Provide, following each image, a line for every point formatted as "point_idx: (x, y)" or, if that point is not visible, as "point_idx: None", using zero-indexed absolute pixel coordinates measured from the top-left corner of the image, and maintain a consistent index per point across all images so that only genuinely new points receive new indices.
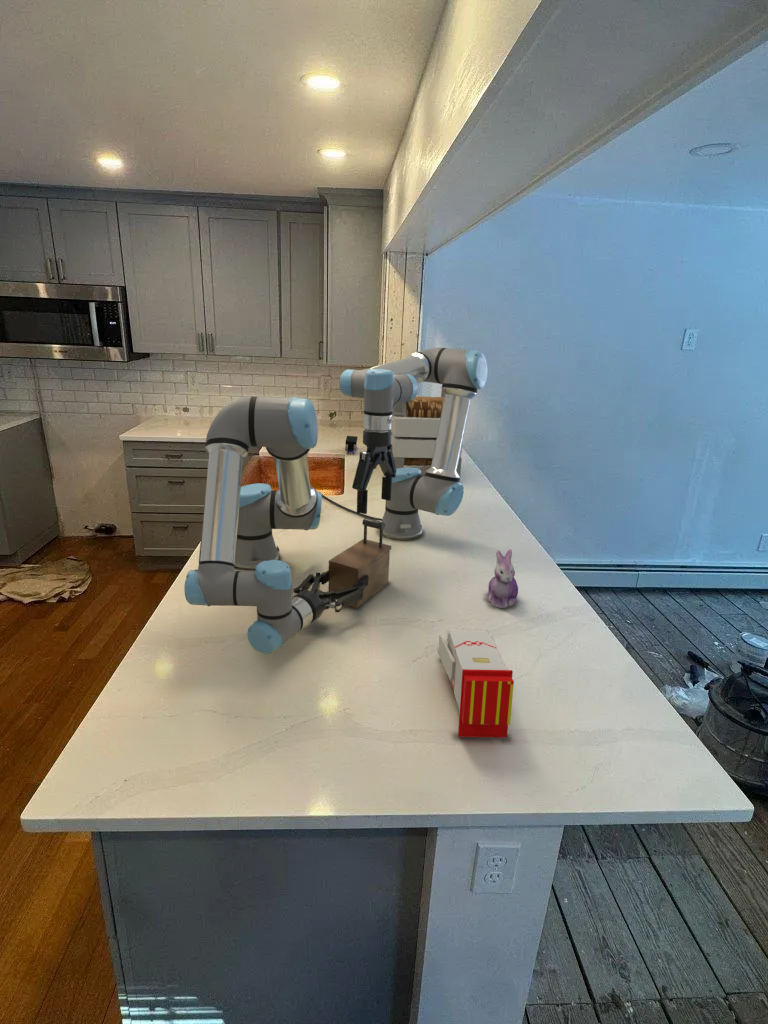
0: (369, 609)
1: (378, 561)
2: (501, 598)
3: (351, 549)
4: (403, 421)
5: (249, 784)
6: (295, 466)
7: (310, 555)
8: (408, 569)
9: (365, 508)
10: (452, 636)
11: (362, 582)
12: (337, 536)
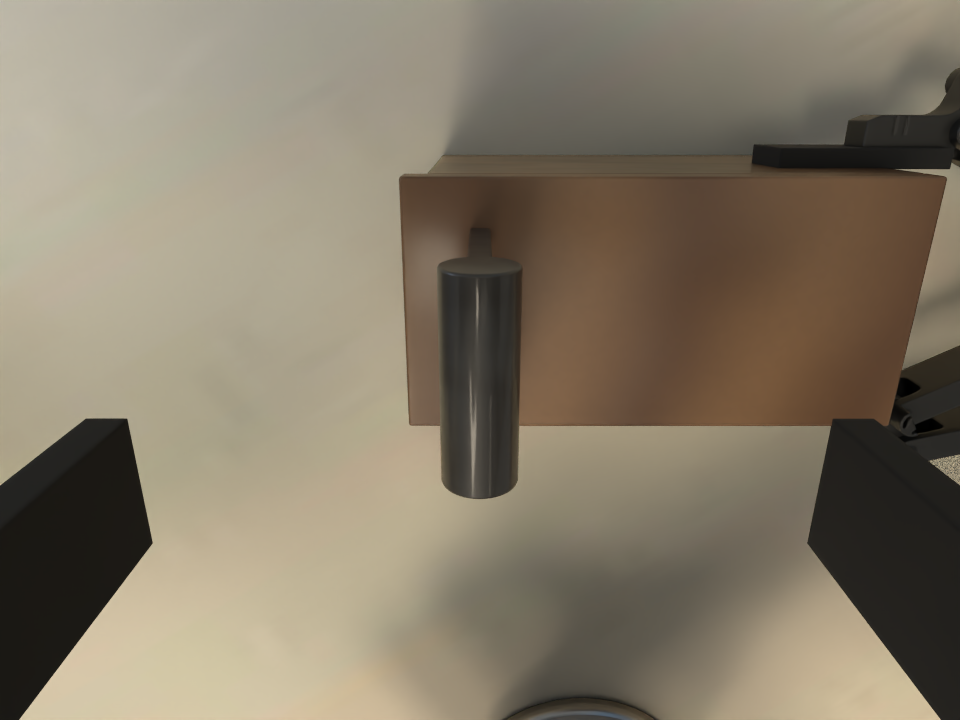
0: (777, 90)
1: (610, 171)
2: None
3: (640, 397)
4: None
5: None
6: None
7: (400, 634)
8: (205, 137)
9: (929, 464)
10: None
11: (853, 147)
12: (126, 652)
